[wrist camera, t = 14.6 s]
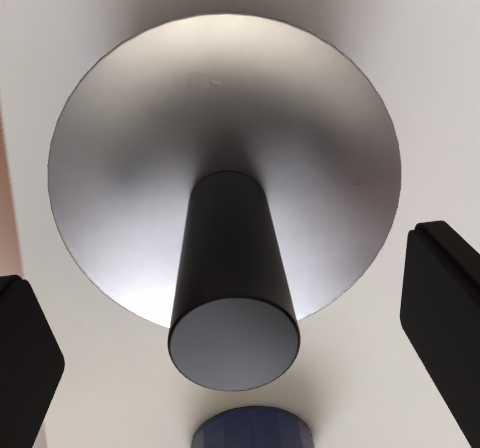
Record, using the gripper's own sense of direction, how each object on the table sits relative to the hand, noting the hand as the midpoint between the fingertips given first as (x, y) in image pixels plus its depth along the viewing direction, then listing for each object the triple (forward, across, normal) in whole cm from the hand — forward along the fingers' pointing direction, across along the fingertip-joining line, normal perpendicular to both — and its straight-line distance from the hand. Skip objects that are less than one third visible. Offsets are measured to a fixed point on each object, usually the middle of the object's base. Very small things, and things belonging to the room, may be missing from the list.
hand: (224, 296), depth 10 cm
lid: (+5, 0, 0) cm, 5 cm away
